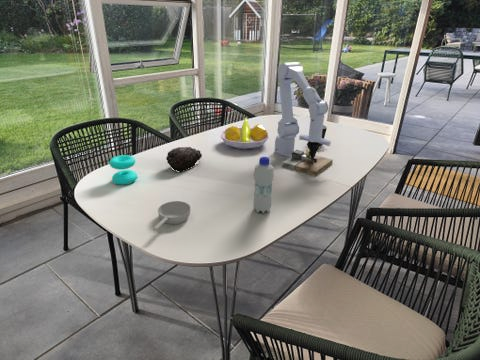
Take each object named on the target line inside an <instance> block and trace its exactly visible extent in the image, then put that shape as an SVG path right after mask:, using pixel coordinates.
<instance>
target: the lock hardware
mask: <svg viewBox="0 0 480 360" xmlns="http://www.w3.org/2000/svg"><path fill="white" fill-rule="evenodd" d="M304 153H305V151H304V150H300V149H294V152H292V156H291V157H292V159H295V160H300V155H302V154H303V155H304ZM314 161H315V162H317V158H315V157H314V158H311V159H307V163H310V164H314Z"/></svg>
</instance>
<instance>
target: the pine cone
mask: <svg viewBox="0 0 480 360" xmlns="http://www.w3.org/2000/svg"><path fill="white" fill-rule="evenodd" d="M202 155H203V154H202V152H201V150H199V149H196V148H194V147H193V148H192V147H191V146H184V147H183V146H182V147H180V146H178V147H175V148H173V149H170V150H169V151H168V153H167V155H166V158H165V159H166V163H167V164H168V165H169V166H170V168H171V167H172V168H173V169H174V170H177V171H182V172H184V171H183V170H185V171H187V170H186V169H188V168H190V169H192V168H194V167H196V166H195V163H196V162H197V161H200V159H201V158H202V157H203V156H202ZM193 166H194V167H193ZM191 167H192V168H191ZM188 170H189V169H188Z"/></svg>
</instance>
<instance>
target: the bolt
mask: <svg viewBox="0 0 480 360" xmlns="http://www.w3.org/2000/svg"><path fill="white" fill-rule="evenodd" d="M305 153H306V155H303V154H302V155H300V159H302V160H306V161H307V159H311V157H310V151H309V150H306V152H305Z"/></svg>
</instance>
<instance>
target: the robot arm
mask: <svg viewBox="0 0 480 360" xmlns="http://www.w3.org/2000/svg"><path fill="white" fill-rule="evenodd" d="M304 74H305V73H304V67H303V66H302V64H301V62H299V61H296V62H281V63H280V64H279V66H278V68H277V76H278V77H277V78H278V85H279V95H280V108H281V119H279V121H278V122H277V130H276V131H277V136H276V137H275V139H274V151H273V153H274V154H277V155H281V156H285V157H288V158H291V157H292V152H294V151H295V141H296V140H295V139H296V137H297V135H298V134H300V126H299V122H298V119H296V117H294V112H293V110H294V109H293V99H292V88H291V85H292V82H293V81H295V82H296V84H297V85H298V86H299V87H300V89H301V90H302V96H303V99H304V101H305V102H306V103H307V105H308V112H309V120H310V122H309V130H308V135H307V134H306V135H305V134H300V135H299V138H298V139H299V140H300V141H307V143H306V146H307V148H308V149H309V151H310V157H311V158H314V157H315V155H316V156H317V152H318V150H319V149H320V147H321V146H320V145H321V144H323V145H325V146H327V147H330V146H331V142H332V141H331V140H328V139H325V138H324V139H323V138H322V130H323V125H324V120H325V115H326V114H327V112H328V111H329V104H328V103H327V101H326V100H323V99H322V98H321V97H320V95H319V93H318V92H317V89H316V88H314V87H311V86H310V84H309V82H308V80H307V78H306V76H305V75H304Z"/></svg>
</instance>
